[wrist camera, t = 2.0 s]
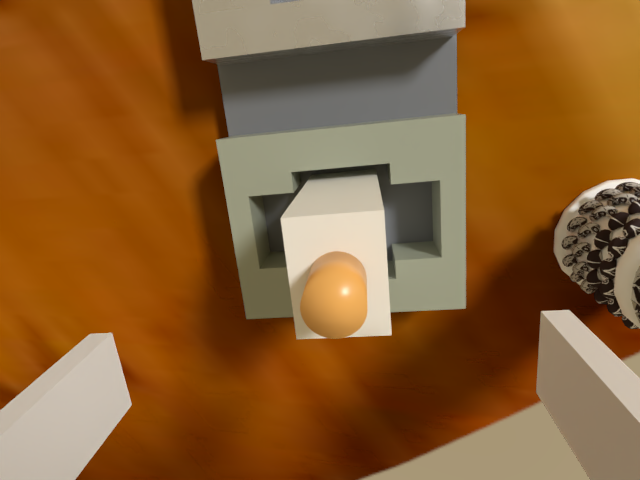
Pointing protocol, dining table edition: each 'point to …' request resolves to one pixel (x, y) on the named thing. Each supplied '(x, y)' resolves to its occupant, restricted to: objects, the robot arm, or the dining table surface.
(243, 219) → the grey-green cross cutout frame
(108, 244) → the dining table surface
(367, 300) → the plug
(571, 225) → the decorative candle
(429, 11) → the socket
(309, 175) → the board
